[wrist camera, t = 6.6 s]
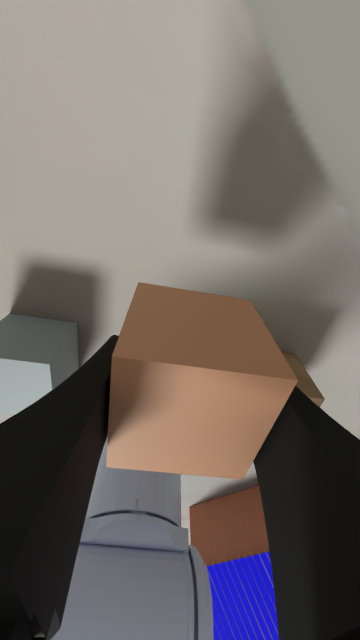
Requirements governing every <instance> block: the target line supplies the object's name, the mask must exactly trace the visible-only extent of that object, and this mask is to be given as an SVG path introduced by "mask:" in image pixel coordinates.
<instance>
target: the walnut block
mask: <svg viewBox="0 0 360 640" xmlns="http://www.w3.org/2000/svg"><path fill="white" fill-rule="evenodd" d="M282 354H283V356H284V357H285V359H286V361H287V362H288V364H289V366H290V368H291V369H292V371H293V373H294V374H295V376H296V378H297V379H298V382H297V384H296V386H297V387H298V388H299V389H300V390H301V391H302V392H303V393H304V394H305V395H306V396H307V397H308V398H310V399H311V400H312V401H313V402H314V403H315V404H316V405H317V406H318V407H320V406H321V404H322V403H323V401H324V400H325V399H324V397H323V396H322V394H321V393H320V391H319V390H318V388H317V387H316V385H315V383H314V382H313V380H312V379H311V377H310V376H309V374H308V373H307V371H306V370H305V368H304V367H303V365H302V364H301V362H300V361H299V359H298V358H297V356H296V355H295V354H292V353H285V352H282Z"/></svg>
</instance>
